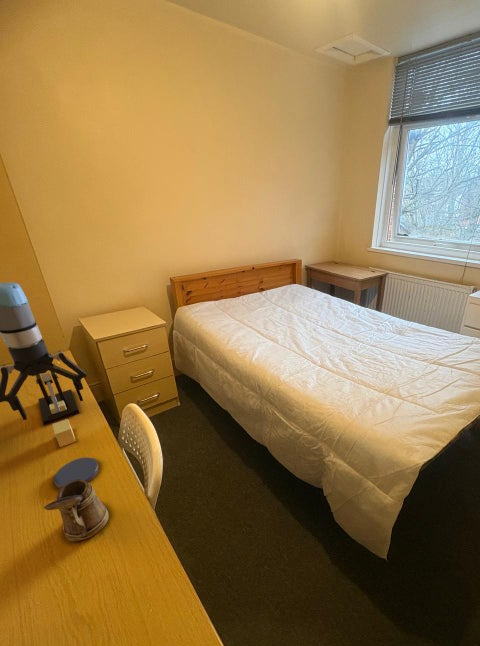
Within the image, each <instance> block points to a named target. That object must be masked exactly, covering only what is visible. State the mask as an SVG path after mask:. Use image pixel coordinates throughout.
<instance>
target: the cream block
mask: <svg viewBox="0 0 480 646" xmlns="http://www.w3.org/2000/svg"><path fill="white" fill-rule="evenodd" d="M58 405H59V408H60V410H61V411H63V410H66V409H67V408H66V406H65V403H64V401H60V402H58ZM49 407H50V411H51V413H52V414H54V413H56V410H55V407H54V404H50V405H49Z"/></svg>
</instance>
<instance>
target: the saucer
mask: <svg viewBox="0 0 480 646" xmlns="http://www.w3.org/2000/svg"><path fill="white" fill-rule="evenodd" d="M99 466H100V465H99V464H98V461H97V460H96V459H95V458H93V457H80V458H77V459H74V460H72V461H69V462H67V463H66V464H65V465H63V466H62V467H60V468H59V469H58V471H57V472H56V473H55V475H54V477H53V482H54V484H55V486H56V488H58V489H59V490H60V489H61V488H62V487H63V486H64V485H65V484H67V483H69V482H71V481H74V480H78V479H82V480H86V481H87V482H88V483H89V482H90V481H92V480H93V479H94V478H95V477H96V475H97V473H98V472H99Z"/></svg>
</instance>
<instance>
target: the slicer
mask: <svg viewBox="0 0 480 646" xmlns="http://www.w3.org/2000/svg"><path fill="white" fill-rule="evenodd" d="M49 373H50V375H51V378H52V381H53V383H54V385H55V388H56V390H57V393H55V396H56V399H57V402H60V401H64V403H65V406H66V408H67V409H69V408H70V411H71V413H69V414H66V415H63V416H60V417H57V418H54V419H51V420H49V419H48V417H47V416H48V415H51V414H52V413H51V411H50V407H49V405H50V404H53V401H52V398H51V395H50V394H49V392H48V391H47V388H46V385H45V384H44V382H43V379H42V376H41V374H38V375H36V376H35V383H36V385H38V386H39V389H40V390H41V392H42V395H43V397H40V398H38V406H39V410H40V411H39V412H40V415H41V421H42V424H43V425H44V426H46V425H49V424H53V423H56V422H59V421H62V420H65V419H68V418H71V417H72V416H76V415H78V414H80V410H79V407H78V404H77V402H76V399H75V395H74V392H73V390H72V389H68V390H64V391H63V389H62V386H61V384H60V382H59V374H57V373H55V372H51V371H49Z"/></svg>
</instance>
